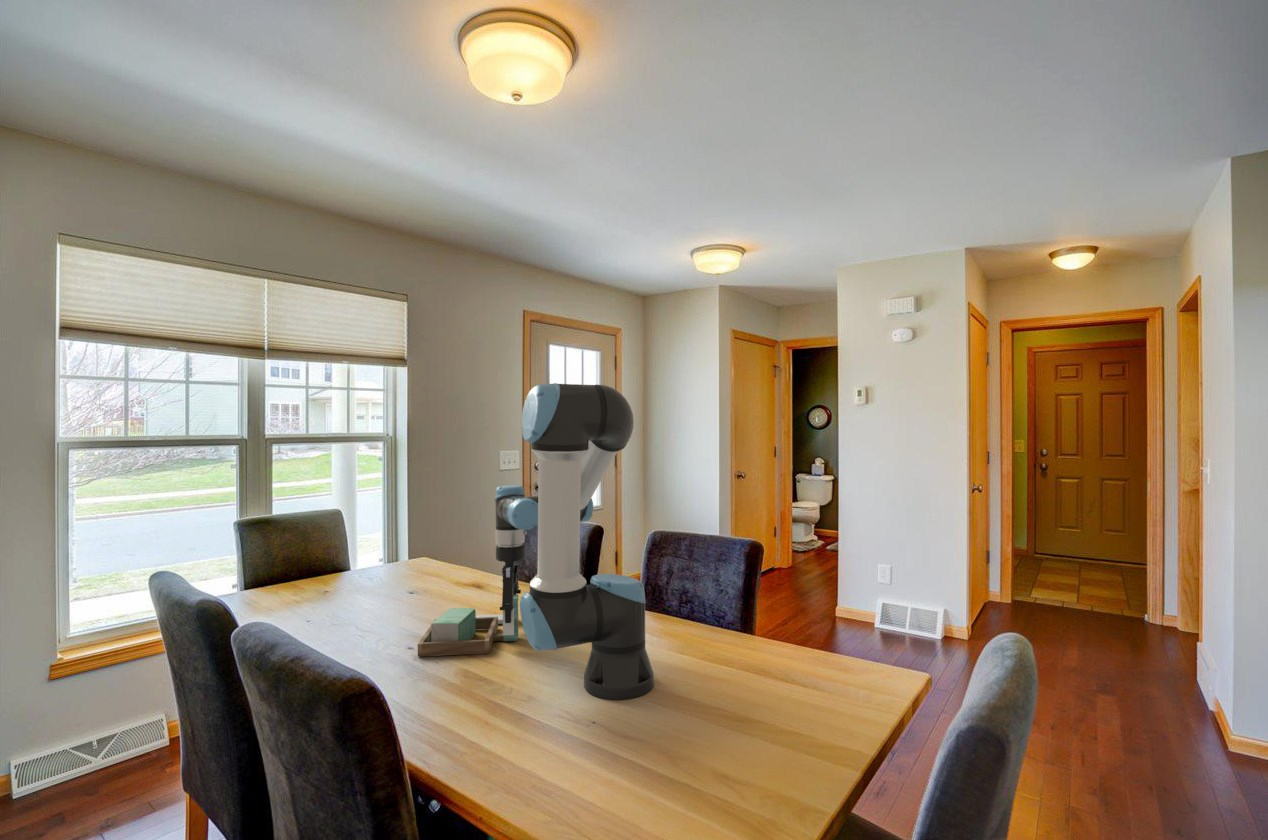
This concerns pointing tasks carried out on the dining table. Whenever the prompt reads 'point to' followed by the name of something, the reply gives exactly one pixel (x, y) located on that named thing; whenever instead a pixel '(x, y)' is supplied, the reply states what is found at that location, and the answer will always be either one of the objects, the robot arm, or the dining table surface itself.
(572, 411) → the robot arm
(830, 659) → the dining table surface
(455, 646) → the walnut frame
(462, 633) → the box
